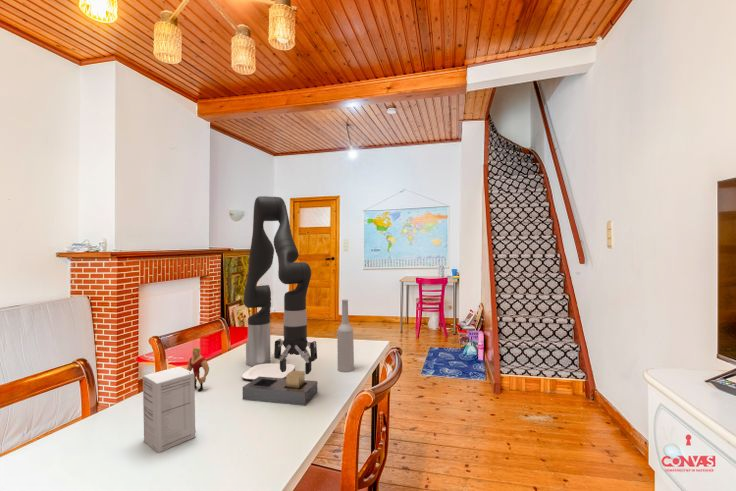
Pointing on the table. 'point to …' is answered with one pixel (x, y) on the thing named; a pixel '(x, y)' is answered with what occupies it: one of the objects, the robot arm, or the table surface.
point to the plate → (267, 371)
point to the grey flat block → (278, 391)
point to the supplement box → (168, 408)
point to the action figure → (198, 367)
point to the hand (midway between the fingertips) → (295, 372)
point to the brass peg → (295, 380)
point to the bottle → (345, 342)
